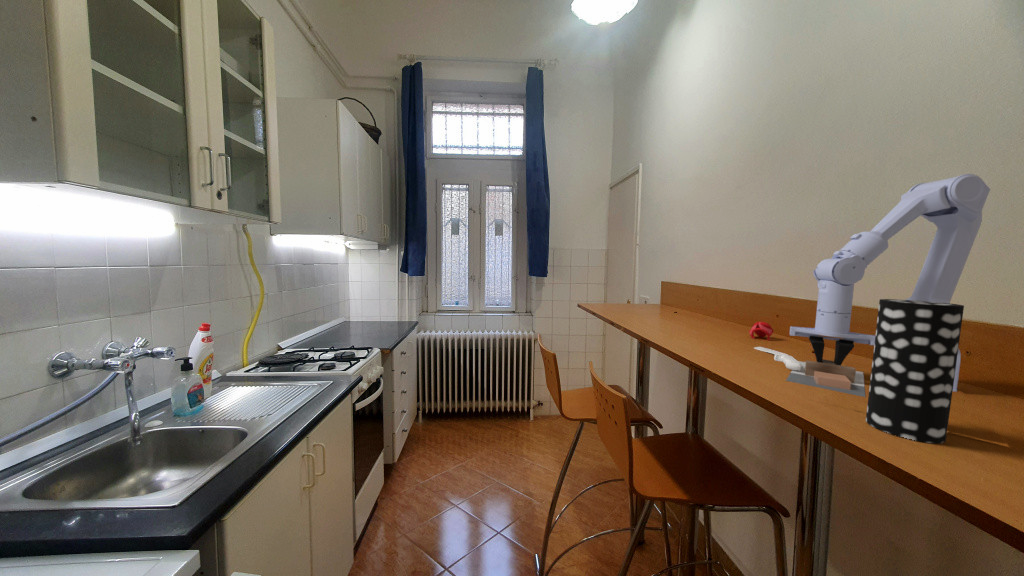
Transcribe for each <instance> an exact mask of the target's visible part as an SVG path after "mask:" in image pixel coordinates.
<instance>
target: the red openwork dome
mask: <svg viewBox="0 0 1024 576" xmlns="http://www.w3.org/2000/svg"><path fill="white" fill-rule="evenodd" d="M748 333H749V336H750V337H751V338H752V339H753V340H754V339H756V336H758V337H759V338H760V337H761V338H765V337H767V341H770V340H771V337H770V336H772V335H773V334H774V329H773V327H772V326H771V324H769V323H768V322H766V321H757V322H755V323H754V324H753V325H752V326H751V328H750V329H749V331H748ZM754 334H755V335H756V336H755V335H754Z"/></svg>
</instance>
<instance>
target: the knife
mask: <svg viewBox="0 0 1024 576" xmlns="http://www.w3.org/2000/svg"><path fill="white" fill-rule="evenodd" d="M753 349H755V350H757V351H760V352H765V353H769V354H772V355H774V356H773V359H774V361H776V362H783V363H784V365H785V367H786V369H789V370H791V371H792V370H800V369H801V368H802V366H801V364H800V363H799V362H798V361H799V360H797V359H796V358H794V357H793V356H792V355H789V354H787V353H784V352H780V351H777V350H774V349H770V348H766V347H763V346H755V347H753Z"/></svg>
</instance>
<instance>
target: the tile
mask: <svg viewBox="0 0 1024 576" xmlns="http://www.w3.org/2000/svg"><path fill="white" fill-rule="evenodd" d="M814 380H815V381H816V383H817V384H818V385H824V386H830V387H836V388H842V389H848V390H850V386H851V382H850V380H849V379H848V378H847V377H846V376H845V375H838V374H831V373H825V372H818V371H814Z"/></svg>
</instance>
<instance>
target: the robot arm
mask: <svg viewBox="0 0 1024 576" xmlns="http://www.w3.org/2000/svg"><path fill="white" fill-rule="evenodd" d="M990 190H991V189H990V187H989V186H988V185H987V184H986V182H985V181H984V180H983V179H982V178H981V177H980V176H979V175H976V174H974V173H965V174H960V175H958V176H954V177H949V178H948V177H947V178H944V179H940V180H939V179H938V180H934V181H929V182H921V183H917V184H915V185H913V186H911V187H910V188H909V190H908V191H906V192H905V193H903V194H902V195H901V196H900V201H899V202H898V203H897V204H896V205H895V206H894V207H893V208H892V209H890V211H889V212H888V213H887V214H886V215H885V216H884V217H883V218H882V219H881V220H880V221H879V222H878V223H877V224H876V225H874V227H873V228H872V229H871V230H870V231H861V232H859V233H855V234H852V236H851V237H849V239H850V240H849V241H848V242H847V243H846V244H844V246H842V247H841V248H840V249H839V250H835V251H834V252H833V254H832V255H833V256H831V258H825V259H823V260H822V261H820V262H819V263H818V264H817V266H816V268H815V269H813V270H812V272H813V273H812V274H813V276H814V278H815V280H816V281H817V288H818V291H817V292H818V293H817V303H816V313H815V323H814V327H801V326H789V336H793V337H795V336H797V337H805V338H808V339H809V341H810V345H811V347H812V349H813V352H814V355H815V359H816V360H815V361H816V362H821V363H823V358H824V350H825V340H831V341H835V349H834V351H835V352H834V360H833V362H834V363H835V365H841V366H842V364H843V362H844V361H845V359H846V358H847V356H849V354H850V353H851V351H852V350H853V349H854V348H855V343H856V344H863V345H869V346H874V344H875V335H876V334H866V333H860V332H859V333H858V332H852V331H850V329H851V328H850V326H851V320H852V319H851V317H852V311H853V310H852V309H853V302H854V301H853V299H854V290H855V289H854V288H855V284H856V283H858V282H859V281H862V280H863V277H864V275H865V272H866V269H867V268H868V266H869V265H871V263H872V262H873V261H874V260H876V259H877V258H878V257H879V256H881V254H883V253H885V251H886V250H887V249H889V240H890V239H891V238H892V237H893V236H895V235H896V234H898V233H899V232H900V231H902V230H903V229H904V228H905V227H907V226H908V225H910V224H911V223H912V222H914V221H915V220H916V219H918V218H919V217H920V216H921V217H922V218H924V219H925V220H927V221H929V223H933V224H934V225H935V226H936V227H937V230H936V232H935V234H934V236H933V239H932V241H931V245H930V247H929V250H928V252H927V254H926V258H925V260H924V263H923V266H922V268H921V271H920V274H919V276H918V279H917V281H916V284H915V286H914V289H913V292H912V295H911V296H909V297H907V298H906V299H905V300H915V301H929V302H940V303H950V304H951V301H952V298H953V296H954V293H955V290H956V288H957V285H958V283H959V280H960V279H961V275H962V274H963V271H964V267H965V266H966V262H967V260H968V257H969V255H970V253H971V250H972V248H973V245H974V244H975V239H976V238H977V235H978V233H979V230H980V227H981V225H982V222H983V208H984V207H985V203H986V201H987V198H988V196H989V193H990ZM961 356H962V355H961V350H960V348H958V354H957V362H956V369H955V377H954V384H953V391H952V392H955V393H957V392H958V383H959V375H960V369H961V368H960V367H961V358H962V357H961Z"/></svg>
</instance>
